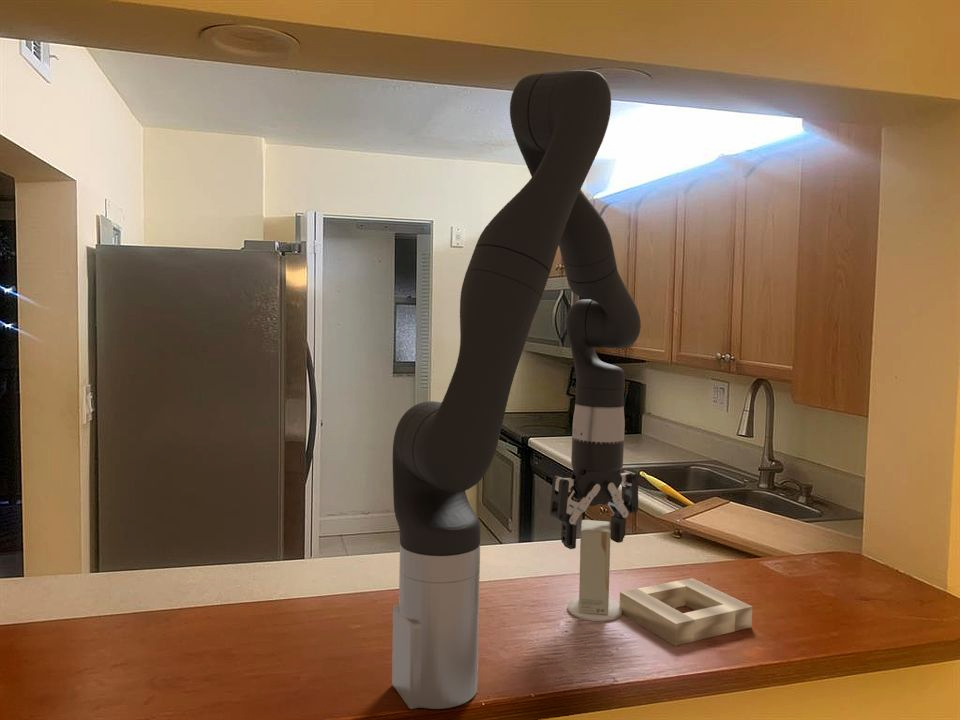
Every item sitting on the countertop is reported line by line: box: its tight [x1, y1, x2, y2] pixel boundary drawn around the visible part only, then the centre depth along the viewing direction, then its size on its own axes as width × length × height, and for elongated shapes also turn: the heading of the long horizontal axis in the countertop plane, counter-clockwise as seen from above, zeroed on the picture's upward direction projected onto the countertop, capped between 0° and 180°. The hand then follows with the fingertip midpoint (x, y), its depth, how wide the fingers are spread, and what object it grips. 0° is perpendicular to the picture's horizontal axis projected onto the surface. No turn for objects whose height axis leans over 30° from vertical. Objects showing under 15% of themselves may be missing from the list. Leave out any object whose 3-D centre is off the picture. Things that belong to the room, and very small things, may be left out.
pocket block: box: [619, 577, 753, 647], centre depth 103 cm, size 14×12×3 cm
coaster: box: [567, 596, 623, 623], centre depth 106 cm, size 8×8×1 cm
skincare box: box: [578, 519, 611, 615], centre depth 106 cm, size 6×4×12 cm
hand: (593, 544), depth 106 cm, fingers open, 8 cm apart
